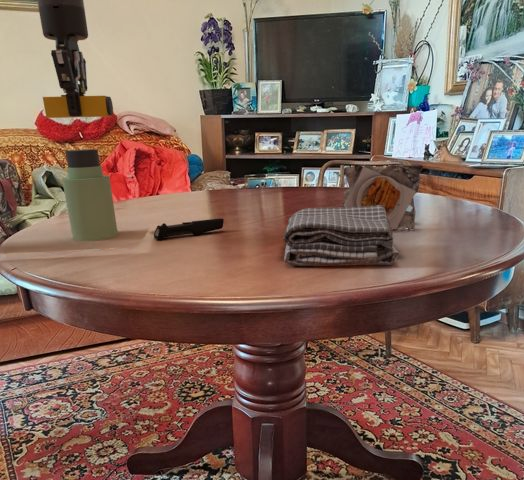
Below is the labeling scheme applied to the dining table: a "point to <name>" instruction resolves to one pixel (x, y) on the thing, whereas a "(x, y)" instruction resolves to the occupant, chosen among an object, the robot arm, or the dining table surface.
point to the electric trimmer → (188, 228)
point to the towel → (339, 237)
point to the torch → (89, 106)
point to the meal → (385, 190)
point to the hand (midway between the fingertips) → (78, 116)
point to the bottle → (88, 197)
